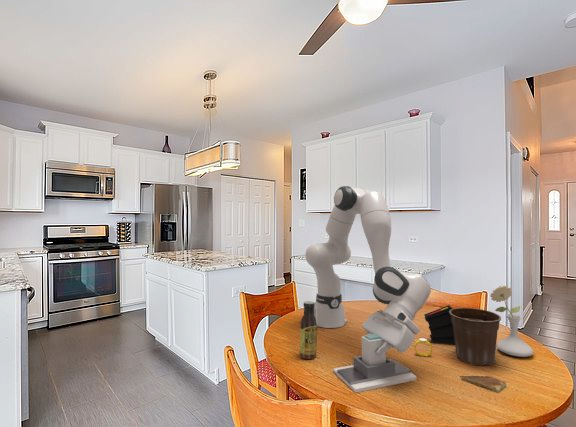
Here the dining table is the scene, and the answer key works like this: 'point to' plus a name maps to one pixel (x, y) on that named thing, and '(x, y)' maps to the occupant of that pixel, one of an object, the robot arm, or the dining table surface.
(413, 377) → the rail holder
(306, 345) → the sauce bottle
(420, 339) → the watch
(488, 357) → the plant pot
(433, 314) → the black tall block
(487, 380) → the shard
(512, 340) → the flower in vase
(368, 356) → the module block
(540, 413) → the dining table surface
